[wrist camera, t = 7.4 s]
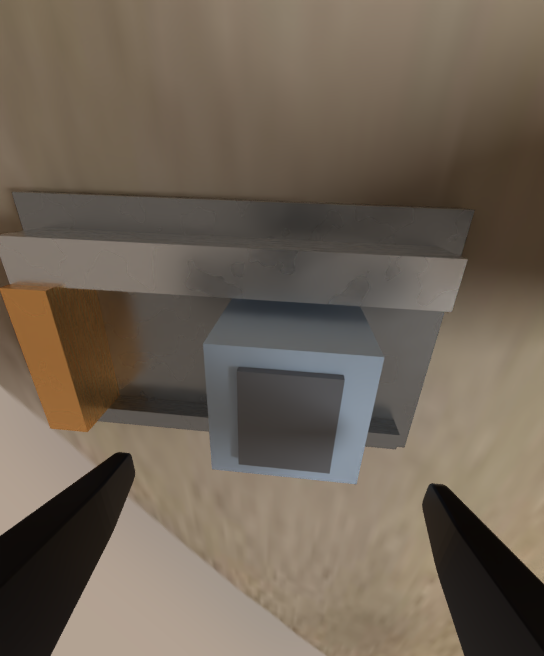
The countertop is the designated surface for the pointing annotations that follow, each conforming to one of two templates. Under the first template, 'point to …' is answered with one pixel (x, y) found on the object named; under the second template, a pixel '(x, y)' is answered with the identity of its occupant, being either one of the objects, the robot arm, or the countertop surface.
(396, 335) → the rail plate
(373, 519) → the countertop surface
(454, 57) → the countertop surface
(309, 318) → the block
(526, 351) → the countertop surface
